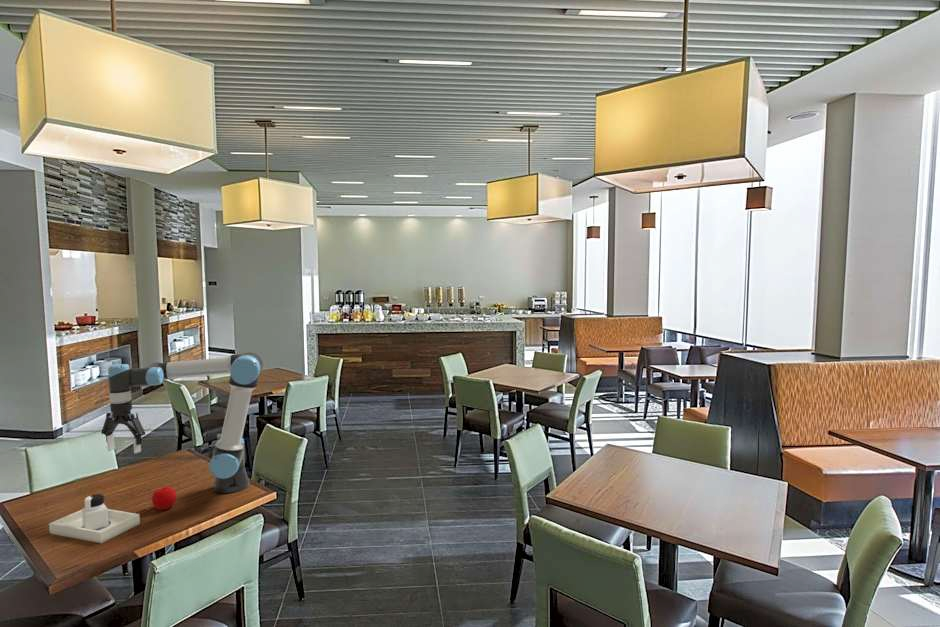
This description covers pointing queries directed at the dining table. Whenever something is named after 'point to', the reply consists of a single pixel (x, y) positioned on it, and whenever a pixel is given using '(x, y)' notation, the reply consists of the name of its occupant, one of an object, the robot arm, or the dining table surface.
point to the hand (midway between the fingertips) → (124, 451)
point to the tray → (75, 529)
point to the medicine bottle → (95, 512)
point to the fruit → (164, 498)
